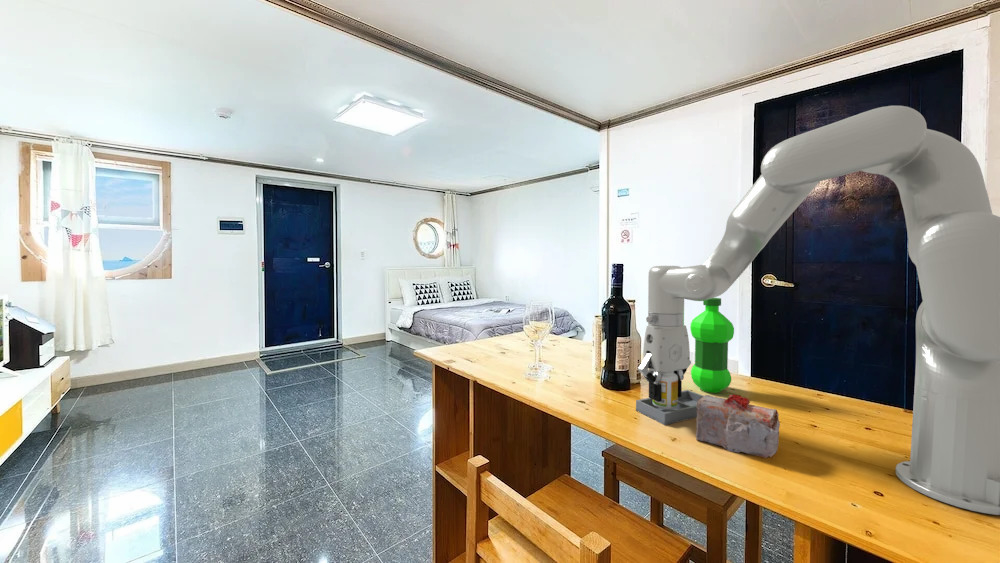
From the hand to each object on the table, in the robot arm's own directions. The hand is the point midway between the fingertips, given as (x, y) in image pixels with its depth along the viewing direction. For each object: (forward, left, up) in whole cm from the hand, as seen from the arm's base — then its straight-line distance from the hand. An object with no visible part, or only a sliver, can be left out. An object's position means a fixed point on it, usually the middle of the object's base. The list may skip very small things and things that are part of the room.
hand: (665, 396), depth 89 cm
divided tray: (0, -4, -4) cm, 6 cm away
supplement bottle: (0, 0, -2) cm, 2 cm away
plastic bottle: (+7, -24, -4) cm, 25 cm away
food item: (-16, -1, -5) cm, 17 cm away
